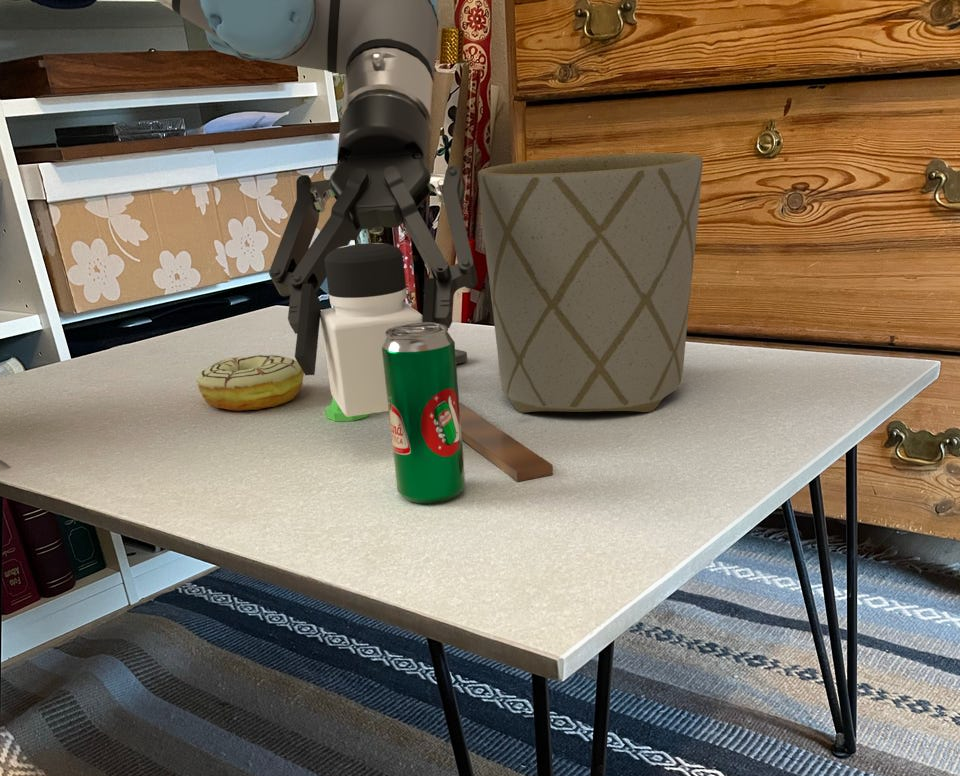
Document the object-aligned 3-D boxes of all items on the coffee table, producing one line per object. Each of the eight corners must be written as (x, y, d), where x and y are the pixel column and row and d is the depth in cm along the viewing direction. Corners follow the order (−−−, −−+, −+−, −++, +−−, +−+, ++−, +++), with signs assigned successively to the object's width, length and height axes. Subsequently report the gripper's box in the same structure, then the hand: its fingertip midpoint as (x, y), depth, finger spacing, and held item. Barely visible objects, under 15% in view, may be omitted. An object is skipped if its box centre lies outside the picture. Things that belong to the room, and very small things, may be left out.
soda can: (397, 485, 75) (379, 324, 69) (462, 478, 75) (450, 318, 70) (399, 509, 71) (380, 339, 65) (469, 502, 71) (456, 333, 65)
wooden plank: (553, 474, 75) (552, 464, 75) (517, 481, 74) (516, 471, 74) (439, 396, 96) (439, 388, 96) (410, 401, 96) (410, 393, 95)
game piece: (329, 424, 91) (320, 358, 88) (323, 412, 94) (314, 348, 91) (375, 417, 91) (367, 352, 88) (367, 405, 95) (359, 342, 92)
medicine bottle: (432, 405, 79) (418, 246, 73) (345, 418, 77) (322, 256, 71) (412, 384, 85) (397, 235, 79) (330, 396, 83) (309, 245, 77)
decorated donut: (283, 380, 106) (278, 344, 104) (322, 400, 98) (317, 362, 96) (189, 398, 102) (181, 361, 100) (221, 421, 93) (214, 381, 92)
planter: (510, 370, 104) (499, 160, 94) (694, 367, 100) (703, 148, 90) (472, 425, 87) (455, 179, 78) (690, 425, 83) (701, 165, 74)
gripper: (245, 99, 80) (213, 342, 74) (511, 79, 77) (499, 331, 71) (275, 166, 87) (249, 392, 82) (520, 150, 84) (510, 384, 78)
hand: (365, 364), depth 76 cm, fingers closed on medicine bottle, 9 cm apart
